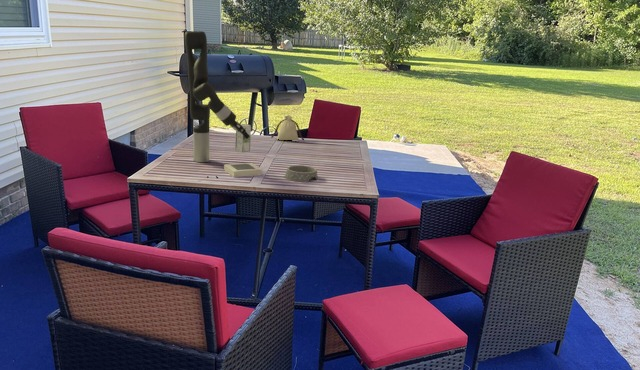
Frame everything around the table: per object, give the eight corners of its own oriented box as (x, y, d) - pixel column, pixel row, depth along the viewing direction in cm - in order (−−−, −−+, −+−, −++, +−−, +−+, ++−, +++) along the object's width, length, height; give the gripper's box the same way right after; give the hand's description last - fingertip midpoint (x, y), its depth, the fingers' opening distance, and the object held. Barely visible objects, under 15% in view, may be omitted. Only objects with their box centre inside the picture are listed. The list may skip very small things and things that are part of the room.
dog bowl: (324, 179, 268) (324, 169, 266) (300, 184, 255) (301, 174, 253) (301, 172, 279) (302, 163, 277) (278, 177, 265) (278, 167, 264)
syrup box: (243, 149, 270) (243, 123, 266) (250, 151, 267) (251, 125, 263) (235, 150, 266) (235, 124, 262) (242, 152, 262) (243, 125, 259)
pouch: (304, 141, 369) (305, 115, 364) (304, 143, 361) (305, 117, 356) (271, 139, 368) (271, 113, 363) (270, 141, 360) (271, 115, 355)
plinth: (224, 169, 273) (224, 164, 272) (251, 167, 280) (251, 162, 279) (233, 177, 259) (233, 171, 258) (261, 174, 267) (262, 169, 266)
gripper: (234, 111, 251) (255, 133, 259) (225, 107, 263) (245, 128, 271) (224, 122, 250) (245, 143, 258) (216, 117, 262) (236, 138, 270)
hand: (245, 136), depth 265 cm, fingers closed on syrup box, 7 cm apart
